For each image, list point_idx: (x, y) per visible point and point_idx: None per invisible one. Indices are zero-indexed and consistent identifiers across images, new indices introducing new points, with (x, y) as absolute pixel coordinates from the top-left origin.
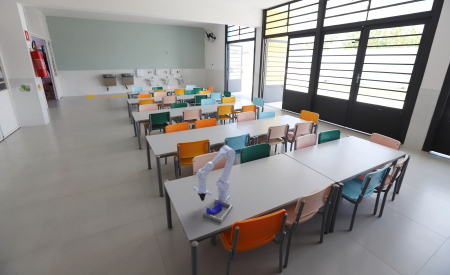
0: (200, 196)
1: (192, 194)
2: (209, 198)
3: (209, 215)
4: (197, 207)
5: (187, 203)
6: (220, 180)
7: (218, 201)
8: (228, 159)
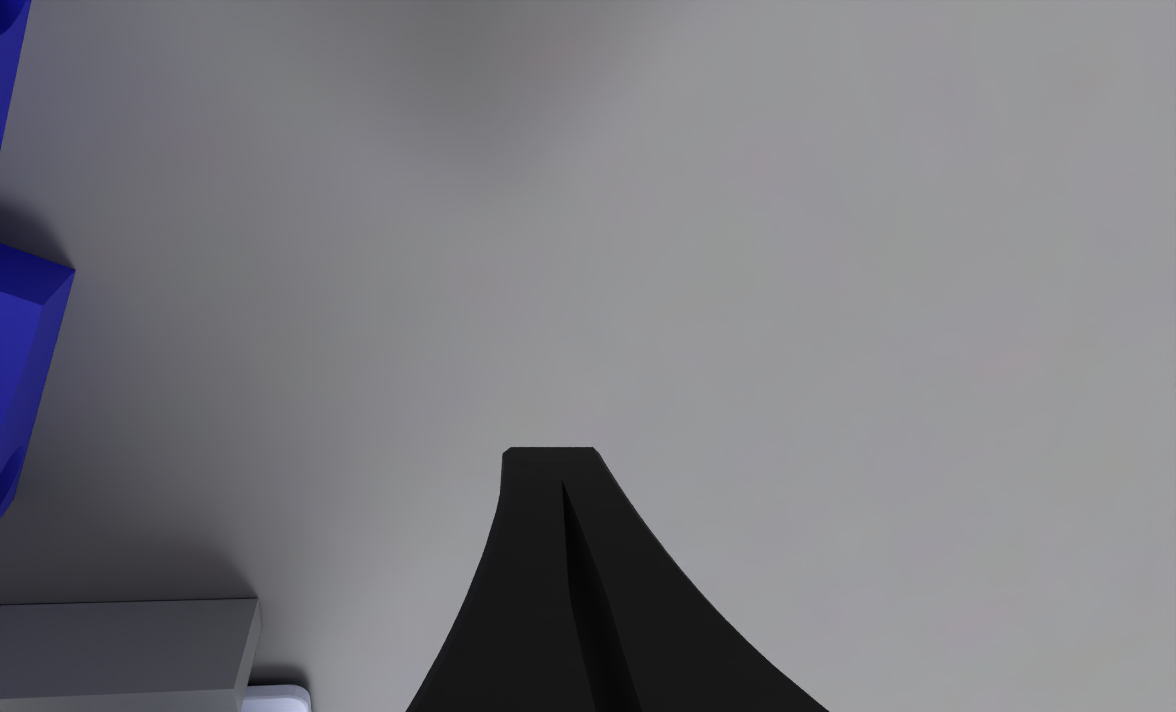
0: (680, 663)
1: (1030, 591)
2: None
3: None
4: (682, 179)
5: (1106, 222)
6: None
7: (82, 680)
8: None
